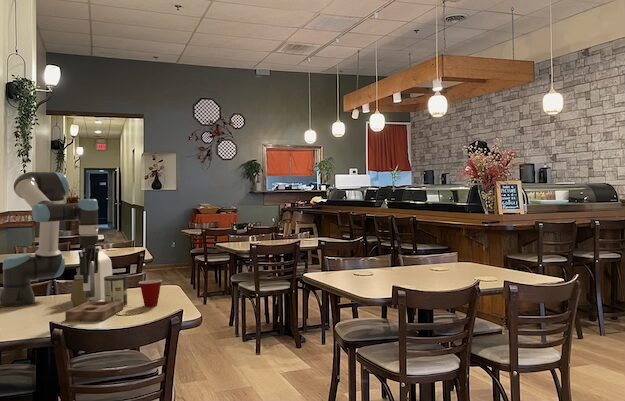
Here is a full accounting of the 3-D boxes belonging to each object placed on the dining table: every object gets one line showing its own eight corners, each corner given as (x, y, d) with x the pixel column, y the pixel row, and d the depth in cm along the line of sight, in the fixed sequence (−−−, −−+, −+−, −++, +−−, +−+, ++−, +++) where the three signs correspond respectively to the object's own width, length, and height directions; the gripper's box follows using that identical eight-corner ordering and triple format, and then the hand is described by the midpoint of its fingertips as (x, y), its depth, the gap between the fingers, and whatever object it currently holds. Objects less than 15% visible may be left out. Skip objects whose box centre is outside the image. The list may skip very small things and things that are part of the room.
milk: (100, 299, 255) (100, 248, 255) (79, 299, 257) (79, 247, 256) (113, 295, 267) (113, 245, 266) (93, 294, 269) (93, 245, 268)
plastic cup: (151, 302, 249) (151, 277, 249) (167, 304, 244) (167, 279, 244) (133, 306, 240) (133, 281, 240) (149, 309, 234) (149, 283, 234)
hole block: (65, 321, 213) (65, 311, 213) (89, 309, 233) (88, 301, 233) (102, 321, 212) (102, 311, 212) (123, 310, 232) (122, 301, 232)
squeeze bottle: (82, 307, 238) (81, 269, 238) (66, 306, 240) (66, 268, 239) (92, 303, 246) (92, 266, 246) (78, 303, 248) (77, 266, 247)
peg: (82, 297, 216) (82, 262, 216) (87, 295, 220) (86, 261, 220) (91, 297, 216) (91, 262, 215) (96, 295, 220) (95, 261, 219)
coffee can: (117, 302, 248) (117, 274, 248) (132, 305, 243) (131, 275, 242) (99, 307, 239) (99, 277, 239) (113, 309, 234) (113, 279, 234)
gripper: (87, 236, 209) (88, 293, 209) (106, 233, 226) (107, 285, 226) (69, 236, 209) (70, 293, 209) (90, 233, 226) (90, 285, 226)
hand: (89, 289), depth 218 cm, fingers closed on peg, 4 cm apart
